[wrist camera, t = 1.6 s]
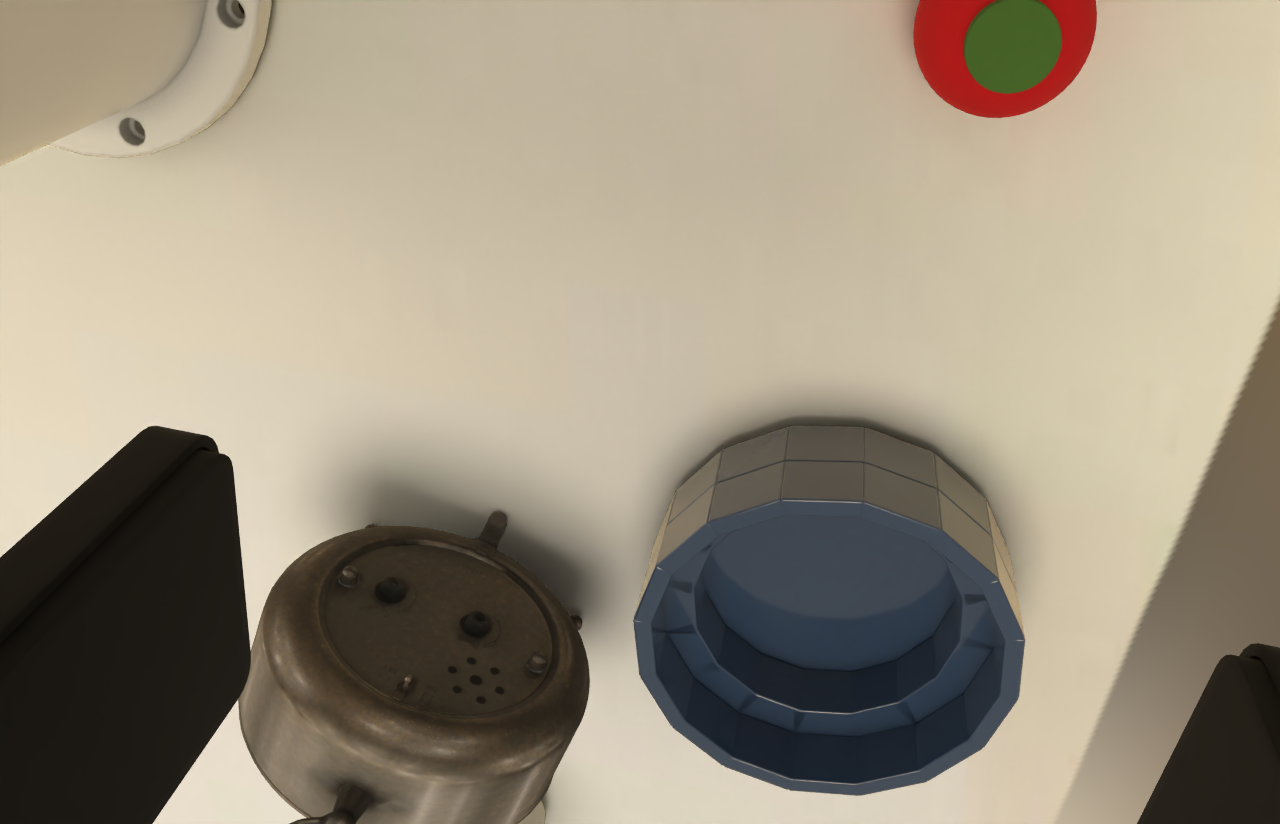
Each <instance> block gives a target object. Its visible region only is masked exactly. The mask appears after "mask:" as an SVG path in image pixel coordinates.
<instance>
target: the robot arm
mask: <svg viewBox="0 0 1280 824" xmlns="http://www.w3.org/2000/svg"><path fill="white" fill-rule="evenodd" d="M239 2H240V4H241V5H242V7H243V9H244V12H245V15H244V14H243V13H242V12H241V11H240V9H239V4H238V3H239ZM271 7H272V0H0V166H1V165H4V164H6V163H8V162H10V161H12V160H15V159H17V158H19V157H21V156H24V155H26V154H28V153H30V152H32V151H35V150H37V149H39V148H41V147H43V146H46V145H50V146H54V147H57V148H61V149H64V150H68V151H72V152H75V153H79V154H83V155H88V156H101V157H113V158H124V157H132V156H139V155H147V154H153V153H156V152H158V151H161V150H164V149H166V148H169V147H172V146H174V145H177V144H179V143H182V142H184V141H186V140H187V139H189V138H191V137H193V136H194V135H196V134H198V133H200V132H201V131H203V130H205V129H207V128H208V127H210V126H211V125H212V124H213V123H214V122H215V121H216V120H217V119H219V118H220V117H221V116H222V115H223V114H224V113H225V112H226V111H227V110H229V109H230V108H231V107H232V106H233V105H234V103H235V102H236V100H237V99H238V97H239V96H240V94H241V93H242V91H243V90H244V89H245V87H246V86H247V84H248V83H249V81H250V80H251V78H252V76H253V73H254V71H255V68H256V66H257V63H258V61H259V58H260V56H261V53H262V51H263V48H264V46H265V41H266V35H267V30H268V24H269V18H270V13H271ZM250 666H251V652H250V641H249V631H248V620H247V610H246V599H245V589H244V578H243V568H242V557H241V547H240V536H239V526H238V515H237V505H236V494H235V483H234V473H233V466H232V462H231V460H230V458H229V457H228V456H226V455H225V454H220V453H219V452H218V447H217V445H216V443H215V441H214V440H213V439H212V438H210V437H209V436H205V435H200V434H195V433H190V432H185V431H180V430H175V429H170V428H165V427H160V426H150V427H148V428H146V429H144V430H143V431H141V432H140V433H139V434H138V435H137V436H136V437H134V438H133V439H132V440H131V441H130V442H129V443H128V444H127V445H126V446H124V447H123V448H122V449H121V450H120V451H119V452H118V453H117V454H115V455H114V456H113V457H112V458H111V459H110V460H109V461H108V462H107V463H105V464H104V465H103V466H102V467H101V468H100V469H99V470H98V471H97V472H95V473H94V474H93V475H92V476H91V477H90V478H89V479H88V480H86V481H85V482H84V483H83V484H82V485H81V486H80V487H79V488H78V489H76V490H75V491H74V492H73V493H72V494H71V495H70V496H69V497H67V498H66V499H65V500H64V501H63V502H62V503H61V504H60V505H59V506H57V507H56V508H55V509H54V510H53V511H52V512H51V513H50V514H49V515H47V516H46V517H45V518H44V519H43V520H42V521H41V522H40V523H38V524H37V525H36V526H35V527H34V528H33V529H32V530H31V531H30V532H28V533H27V534H26V535H25V536H24V537H23V538H22V539H21V540H19V541H18V542H17V543H16V544H15V545H14V546H13V547H12V548H11V549H9V550H8V551H7V552H6V553H5V554H4V555H3V556H2V557H1V558H0V824H152V823H153V822H154V820H155V819H156V818H157V816H158V815H159V813H160V812H161V810H162V809H163V807H164V806H165V805H166V803H167V802H168V800H169V799H170V797H171V796H172V794H173V793H174V791H175V790H176V789H177V787H178V786H179V784H180V783H181V781H182V780H183V778H184V777H185V775H186V774H187V773H188V771H189V770H190V768H191V767H192V765H193V764H194V762H195V761H196V759H197V758H198V757H199V755H200V754H201V752H202V751H203V749H204V748H205V746H206V745H207V743H208V742H209V741H210V739H211V738H212V736H213V735H214V733H215V732H216V730H217V729H218V728H219V726H220V725H221V723H222V722H223V720H224V719H225V717H226V716H227V714H228V713H229V712H230V710H231V709H232V707H233V706H234V704H235V703H236V701H237V700H238V698H239V697H240V695H241V693H242V692H243V690H244V687H245V685H246V683H247V680H248V676H249V673H250ZM1137 824H1280V648H1279V647H1273V646H1268V645H1264V644H1259V643H1258V644H1251V645H1249V646H1248V647H1247V648H1245V649H1244V650H1243V652H1242V653H1241V654H1240V656H1235V655H1226V656H1224V657H1223V658H1222V659H1221V660H1220V661H1219V663H1218V664H1217V666H1216V668H1215V670H1214V672H1213V674H1212V676H1211V678H1210V680H1209V682H1208V684H1207V686H1206V688H1205V690H1204V691H1203V693H1202V696H1201V697H1200V700H1199V702H1198V704H1197V706H1196V708H1195V709H1194V711H1193V714H1192V716H1191V718H1190V719H1189V722H1188V723H1187V726H1186V727H1185V729H1184V731H1183V733H1182V735H1181V737H1180V739H1179V741H1178V743H1177V745H1176V747H1175V749H1174V751H1173V753H1172V755H1171V757H1170V759H1169V761H1168V763H1167V765H1166V767H1165V769H1164V771H1163V773H1162V775H1161V777H1160V779H1159V781H1158V783H1157V785H1156V787H1155V789H1154V791H1153V793H1152V795H1151V797H1150V799H1149V801H1148V803H1147V805H1146V807H1145V809H1144V811H1143V813H1142V815H1141V817H1140V819H1139V821H1138V823H1137Z"/></svg>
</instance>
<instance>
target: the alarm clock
mask: <svg viewBox="0 0 1280 824" xmlns="http://www.w3.org/2000/svg"><path fill="white" fill-rule="evenodd" d="M506 525H507V518H506V515H504V514H503V513H502V512H499V511H498V512H494V513H492V514H491V516H490V517H489V519H488V522H487V523H486V525H485V527H484V529H483V531H482V532H481V534H480V536H479V537H478V538H476V539H473V540H470V539H467V538H465V537H461V536H458V535H455V534H451V533H447V532H443V531H438V530H433V529H427V528H419V527H409V526H384V527H377V526H376V525H374V524H372V525H368V526H367V527H365V529H361V530H357V531H353V532H349V533H346V534H343V535H340V536H337V537H334V538H332V539H329V540H327V541H325V542H323V543H320V544H319V545H317V546H315V547H313V548H312V549H310V550H309V551H307V552H306V553H304V554H303V555H301V556H300V557H299V558H298V559H296V560H295V561H294V562H293V563H292V564H291V565H290V566H289V567H288V568H287V569H286V570H285V571H284V572H283V574H282V575H281V576H280V577H279V579H278V580H277V582H276V583H275V585H274V586H273V587H272V589H271V592H270V594H269V596H268V598H267V600H266V603H265V606H264V608H263V612H262V615H261V618H260V621H259V625H258V628H257V632H256V636H255V639H254V643H253V646H252V649H251V666H250V673H249V676H248V680H247V683H246V685H245V687H244V690H243V692H242V693H241V695H240V697H239V700H238V701H239V719H240V725H241V730H242V734H243V737H244V740H245V742H246V745H247V748H248V750H249V752H250V754H251V756H252V759H253V761H254V763H255V764H256V766H257V767H258V769H259V770H260V772H261V774H262V775H263V776H264V778H265V779H266V780H267V782H268V783H269V784H270V786H271V787H272V788H273V789H274V790H275V791H276V792H277V793H278V794H279V795H280V796H281V797H282V798H283V799H284V800H285V801H286V802H287V803H288V804H289V805H290V806H292V807H293V808H294V809H295V810H297V811H298V812H299V813H301V814H302V815H303V816H305V817H306V818H305V819H300V820H297V821H295V822H292V823H290V824H519V823H520V822H521V821H522V820H524V819H525V817H527V816H528V815H529V814H530V813H531V812H532V811H533V810H534V808H535V807H536V806H537V805H538V804H539V802H540V801H541V800H542V798H543V796H544V795H545V793H546V792H547V790H548V788H549V785H550V783H551V781H552V778H553V775H554V773H555V771H556V769H557V767H558V765H559V763H560V761H561V759H562V757H563V755H564V753H565V751H566V750H567V748H568V746H569V744H570V742H571V740H572V738H573V736H574V734H575V732H576V730H577V728H578V726H579V724H580V723H581V720H582V718H583V715H584V712H585V709H586V705H587V701H588V695H589V684H590V678H589V666H588V660H587V655H586V651H585V648H584V645H583V642H582V639H581V636H580V634H579V632H578V630H580V628H581V626H582V622H583V621H582V618H581V617H580V616H579V615H574V616H571V617H570V616H569V614H568V613H567V611H566V610H565V608H564V607H563V606H562V604H561V603H560V601H559V600H558V599H557V598H556V597H555V596H554V594H553V593H552V592H551V591H550V590H549V589H548V588H547V587H546V586H545V585H544V584H543V583H542V582H541V581H539V580H538V579H537V578H536V577H535V576H534V575H533V574H531V573H530V572H529V571H528V570H526V569H525V568H524V567H522V566H521V565H519V564H518V563H517V562H515V561H513V560H512V559H510V558H509V557H507V556H505V555H504V554H502V553H500V552H499V551H498V550H497V546H498V543H499V541H500V539H501V537H502V535H503V533H504V530H505V528H506Z"/></svg>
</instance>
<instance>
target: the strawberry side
mask: <svg viewBox="0 0 1280 824" xmlns="http://www.w3.org/2000/svg"><path fill="white" fill-rule="evenodd" d="M1096 20H1097V10H1096V1H1095V0H920V2H919V5H918V8H917V13H916V17H915V23H914V48H915V54H916V58H917V61H918V64H919V67H920V69H921V71H922V73H923V75H924V77H925V79H926V80H927V82H928V83H929V85H930V86H931V88H932V89H933V90H934V91H935V92H936V93H937V94H938V95H939V96H940V97H941V98H942V99H943V100H945V101H946V102H947V103H949V104H950V105H952V106H954V107H955V108H957V109H960V110H962V111H964V112H966V113H969V114H973V115H976V116H981V117H988V118H1003V117H1011V116H1016V115H1020V114H1024V113H1027V112H1029V111H1032V110H1034V109H1037V108H1039V107H1041V106H1043V105H1044V104H1046V103H1048V102H1049V101H1051V100H1052V99H1054V98H1055V97H1056V96H1057V95H1059V94H1060V93H1061V92H1062V91H1063V90H1064V89H1065V88H1066V87H1067V86H1068V85H1069V84H1070V83H1071V82H1072V81H1073V80H1074V78H1075V77H1076V76H1077V75H1078V73H1079V72H1080V70H1081V68H1082V67H1083V65H1084V63H1085V62H1086V59H1087V57H1088V55H1089V53H1090V50H1091V47H1092V44H1093V41H1094V36H1095V30H1096Z"/></svg>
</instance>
